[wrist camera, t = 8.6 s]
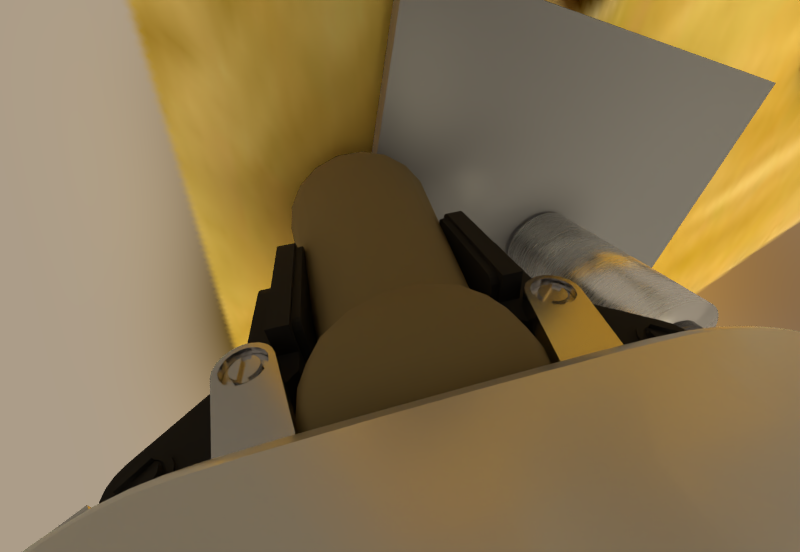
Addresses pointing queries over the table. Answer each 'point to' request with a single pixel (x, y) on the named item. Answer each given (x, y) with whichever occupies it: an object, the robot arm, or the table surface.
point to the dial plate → (555, 118)
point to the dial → (606, 272)
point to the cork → (390, 298)
